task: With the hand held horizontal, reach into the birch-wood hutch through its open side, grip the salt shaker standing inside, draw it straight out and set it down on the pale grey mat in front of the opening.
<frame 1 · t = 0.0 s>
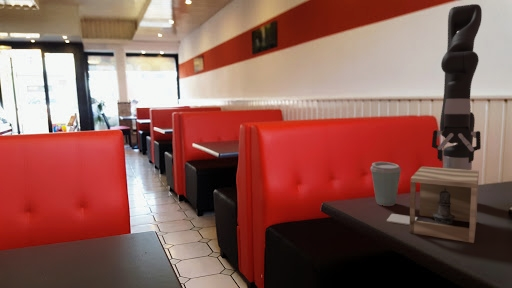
hand: (454, 161, 124), 17 cm above the table, tool pointing down, fingers open, 8 cm apart
salt shaker: (443, 227, 112), on the table
disposable coffee cup: (385, 204, 137), on the table
hutch: (443, 227, 112), on the table
mat: (402, 219, 119), on the table
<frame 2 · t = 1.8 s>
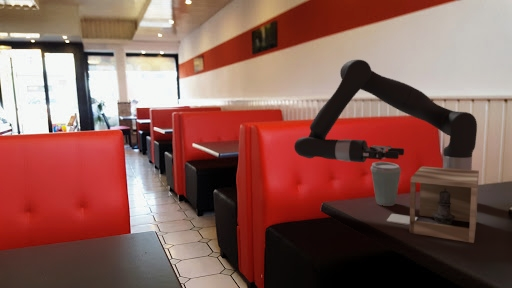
hand: (401, 153, 119), 21 cm above the table, tool horizontal, fingers open, 8 cm apart
nothing on the table moved.
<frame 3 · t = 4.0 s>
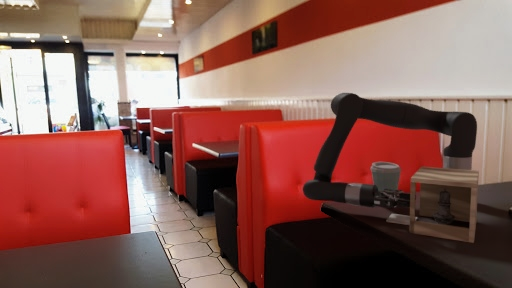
hand: (413, 200, 116), 7 cm above the table, tool horizontal, fingers open, 8 cm apart
nothing on the table moved.
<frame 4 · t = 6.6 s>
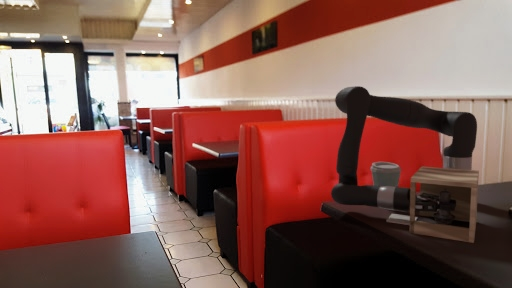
hand: (455, 205, 110), 7 cm above the table, tool horizontal, fingers closed on salt shaker, 3 cm apart
salt shaker: (443, 227, 112), on the table, touching gripper
everything else where it was.
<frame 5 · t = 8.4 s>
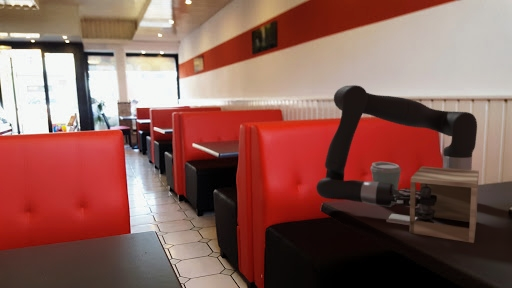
hand: (435, 200, 112), 8 cm above the table, tool horizontal, fingers closed on salt shaker, 3 cm apart
salt shaker: (424, 222, 115), point 1 cm above the table, touching gripper
everything else where it was.
when the fingers open (7 cm above the table, at t = 10.3 s): salt shaker stays where it is, resting on mat.
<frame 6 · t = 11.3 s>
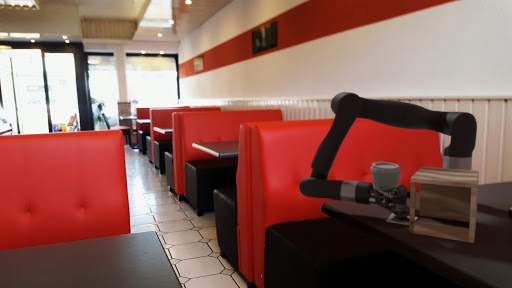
hand: (408, 198, 116), 8 cm above the table, tool horizontal, fingers open, 8 cm apart
salt shaker: (401, 220, 118), resting on mat
everything else where it was.
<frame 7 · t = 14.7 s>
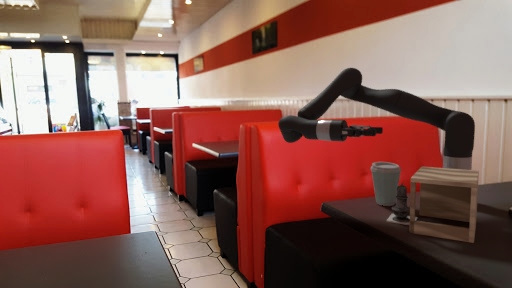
hand: (379, 131, 122), 28 cm above the table, tool horizontal, fingers open, 8 cm apart
nothing on the table moved.
at the end: salt shaker inside the target area (0.5 cm from its centre), resting on mat; salt shaker tilted 0°; the gripper is holding nothing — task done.
